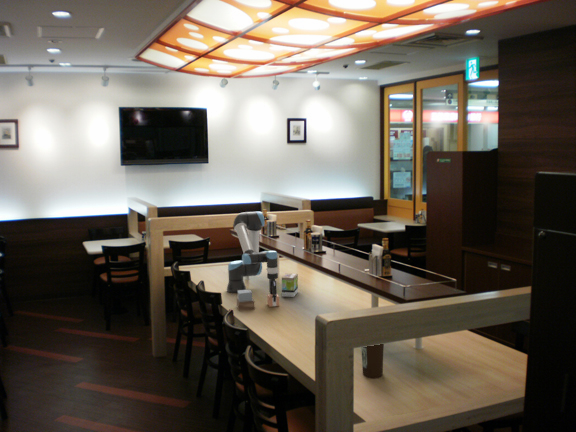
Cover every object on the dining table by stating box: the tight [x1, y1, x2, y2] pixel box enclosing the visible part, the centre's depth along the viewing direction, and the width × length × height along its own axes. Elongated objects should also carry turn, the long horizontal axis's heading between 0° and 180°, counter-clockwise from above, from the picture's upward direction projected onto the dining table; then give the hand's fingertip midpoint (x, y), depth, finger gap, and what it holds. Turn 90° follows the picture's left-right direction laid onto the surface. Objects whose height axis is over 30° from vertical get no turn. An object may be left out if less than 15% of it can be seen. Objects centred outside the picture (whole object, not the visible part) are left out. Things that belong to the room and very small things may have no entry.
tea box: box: [281, 273, 299, 298], centre depth 394 cm, size 15×10×15 cm, turn 168°
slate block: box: [236, 289, 253, 302], centre depth 361 cm, size 9×9×6 cm
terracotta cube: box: [266, 293, 280, 308], centre depth 367 cm, size 7×7×7 cm
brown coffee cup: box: [360, 344, 385, 379], centre depth 244 cm, size 11×11×25 cm
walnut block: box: [236, 297, 256, 312], centre depth 362 cm, size 11×11×6 cm
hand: (273, 304), depth 367 cm, fingers closed on terracotta cube, 7 cm apart
